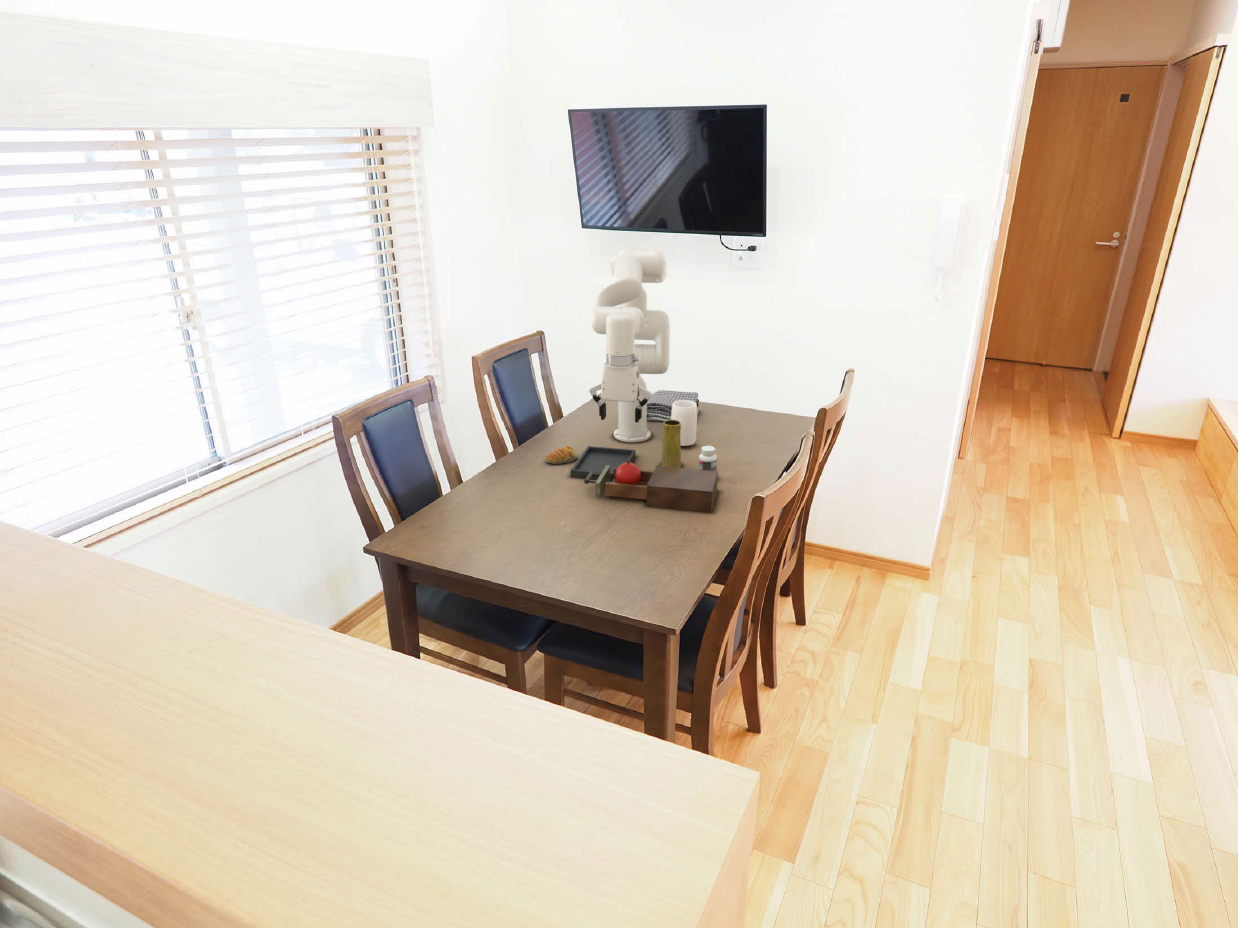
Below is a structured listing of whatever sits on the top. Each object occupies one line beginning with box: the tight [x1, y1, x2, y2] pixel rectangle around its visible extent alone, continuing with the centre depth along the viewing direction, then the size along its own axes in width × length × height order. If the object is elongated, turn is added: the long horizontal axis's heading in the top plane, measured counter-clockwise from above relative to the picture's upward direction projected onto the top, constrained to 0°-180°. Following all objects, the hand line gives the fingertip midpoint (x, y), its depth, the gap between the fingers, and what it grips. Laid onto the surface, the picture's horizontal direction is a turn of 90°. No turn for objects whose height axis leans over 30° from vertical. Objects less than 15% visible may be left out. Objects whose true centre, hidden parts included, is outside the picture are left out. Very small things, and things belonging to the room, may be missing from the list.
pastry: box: [546, 445, 578, 465], centre depth 245 cm, size 9×7×4 cm
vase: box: [660, 420, 682, 468], centre depth 239 cm, size 6×6×14 cm
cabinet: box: [646, 465, 719, 513], centre depth 220 cm, size 18×14×6 cm
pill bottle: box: [697, 445, 718, 471], centre depth 231 cm, size 5×5×10 cm
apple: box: [615, 461, 641, 485], centre depth 222 cm, size 7×7×8 cm
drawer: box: [583, 465, 654, 501], centre depth 223 cm, size 21×13×4 cm, turn 77°
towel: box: [647, 389, 700, 422], centre depth 281 cm, size 15×18×8 cm
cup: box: [671, 400, 698, 447], centre depth 255 cm, size 8×8×14 cm
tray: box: [570, 445, 637, 482], centre depth 241 cm, size 20×16×2 cm
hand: (620, 419), depth 217 cm, fingers open, 9 cm apart
